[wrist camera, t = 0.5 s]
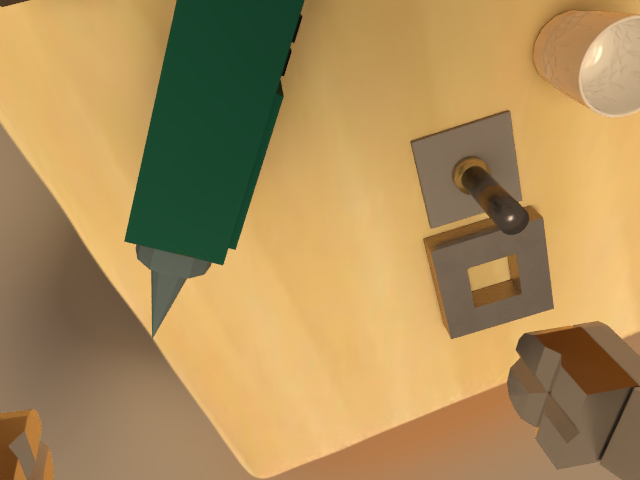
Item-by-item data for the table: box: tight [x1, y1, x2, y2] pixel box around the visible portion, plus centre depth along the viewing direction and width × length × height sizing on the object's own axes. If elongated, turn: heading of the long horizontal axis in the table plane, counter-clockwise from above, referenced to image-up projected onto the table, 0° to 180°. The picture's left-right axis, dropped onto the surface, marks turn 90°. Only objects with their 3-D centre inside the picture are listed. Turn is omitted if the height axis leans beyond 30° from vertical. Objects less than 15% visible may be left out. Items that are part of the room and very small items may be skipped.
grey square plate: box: [411, 111, 522, 229], centre depth 58 cm, size 10×10×1 cm
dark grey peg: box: [452, 156, 529, 235], centre depth 53 cm, size 4×4×12 cm
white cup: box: [533, 10, 640, 117], centre depth 49 cm, size 8×8×10 cm
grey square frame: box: [423, 206, 554, 339], centre depth 63 cm, size 12×12×3 cm
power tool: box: [124, 0, 304, 339], centre depth 44 cm, size 32×7×20 cm, turn 161°
